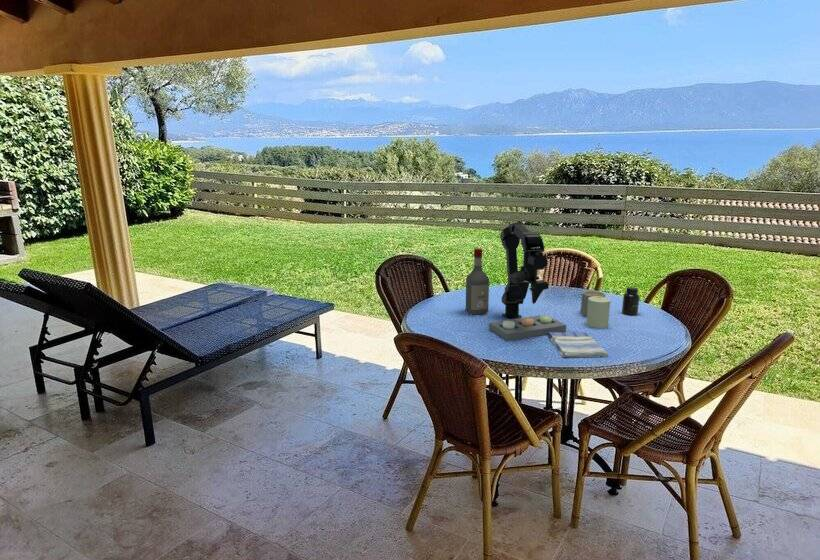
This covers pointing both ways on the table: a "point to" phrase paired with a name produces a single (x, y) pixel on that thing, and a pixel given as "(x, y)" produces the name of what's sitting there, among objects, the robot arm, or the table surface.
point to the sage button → (545, 319)
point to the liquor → (477, 287)
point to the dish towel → (576, 344)
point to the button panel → (526, 329)
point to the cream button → (508, 325)
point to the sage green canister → (598, 312)
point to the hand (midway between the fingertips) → (528, 301)
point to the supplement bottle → (630, 301)
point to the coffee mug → (585, 300)
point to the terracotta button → (527, 322)
